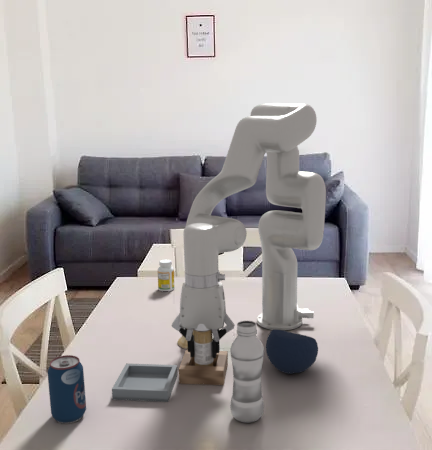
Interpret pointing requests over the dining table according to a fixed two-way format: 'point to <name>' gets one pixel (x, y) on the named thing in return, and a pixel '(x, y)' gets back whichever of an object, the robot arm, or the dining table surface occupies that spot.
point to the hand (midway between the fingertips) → (203, 354)
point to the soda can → (66, 389)
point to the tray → (145, 382)
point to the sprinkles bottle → (203, 346)
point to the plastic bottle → (247, 373)
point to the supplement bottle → (165, 275)
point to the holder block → (203, 370)
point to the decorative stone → (291, 351)
